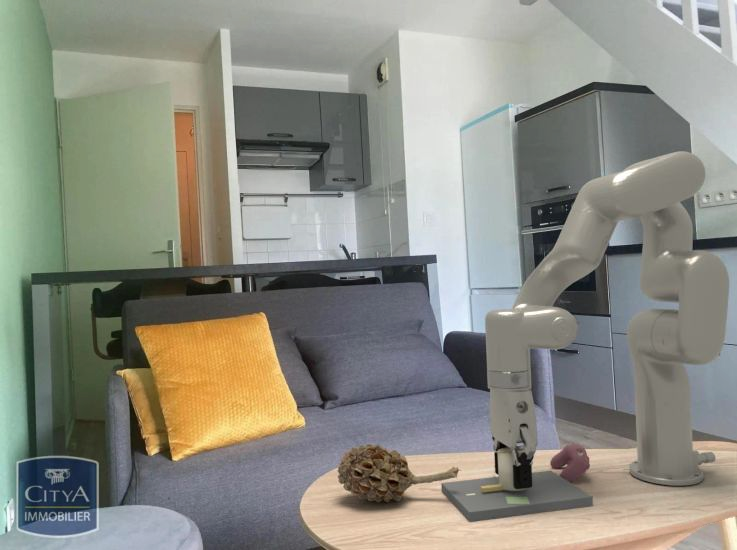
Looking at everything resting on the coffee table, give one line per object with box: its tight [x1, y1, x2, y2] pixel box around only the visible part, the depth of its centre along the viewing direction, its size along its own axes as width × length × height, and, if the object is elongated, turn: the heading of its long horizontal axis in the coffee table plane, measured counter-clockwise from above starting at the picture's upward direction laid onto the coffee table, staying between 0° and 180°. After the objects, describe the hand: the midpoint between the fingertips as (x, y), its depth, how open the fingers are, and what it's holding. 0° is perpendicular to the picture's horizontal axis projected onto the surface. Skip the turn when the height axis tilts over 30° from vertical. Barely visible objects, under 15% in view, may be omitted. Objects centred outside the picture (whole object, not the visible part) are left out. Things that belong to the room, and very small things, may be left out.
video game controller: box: [549, 442, 591, 483], centre depth 114 cm, size 10×5×7 cm, turn 175°
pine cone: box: [337, 443, 462, 503], centre depth 105 cm, size 22×10×10 cm, turn 89°
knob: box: [480, 448, 527, 492], centre depth 103 cm, size 8×5×7 cm, turn 101°
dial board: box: [440, 470, 594, 522], centre depth 103 cm, size 22×14×2 cm, turn 101°
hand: (513, 479), depth 103 cm, fingers open, 6 cm apart
